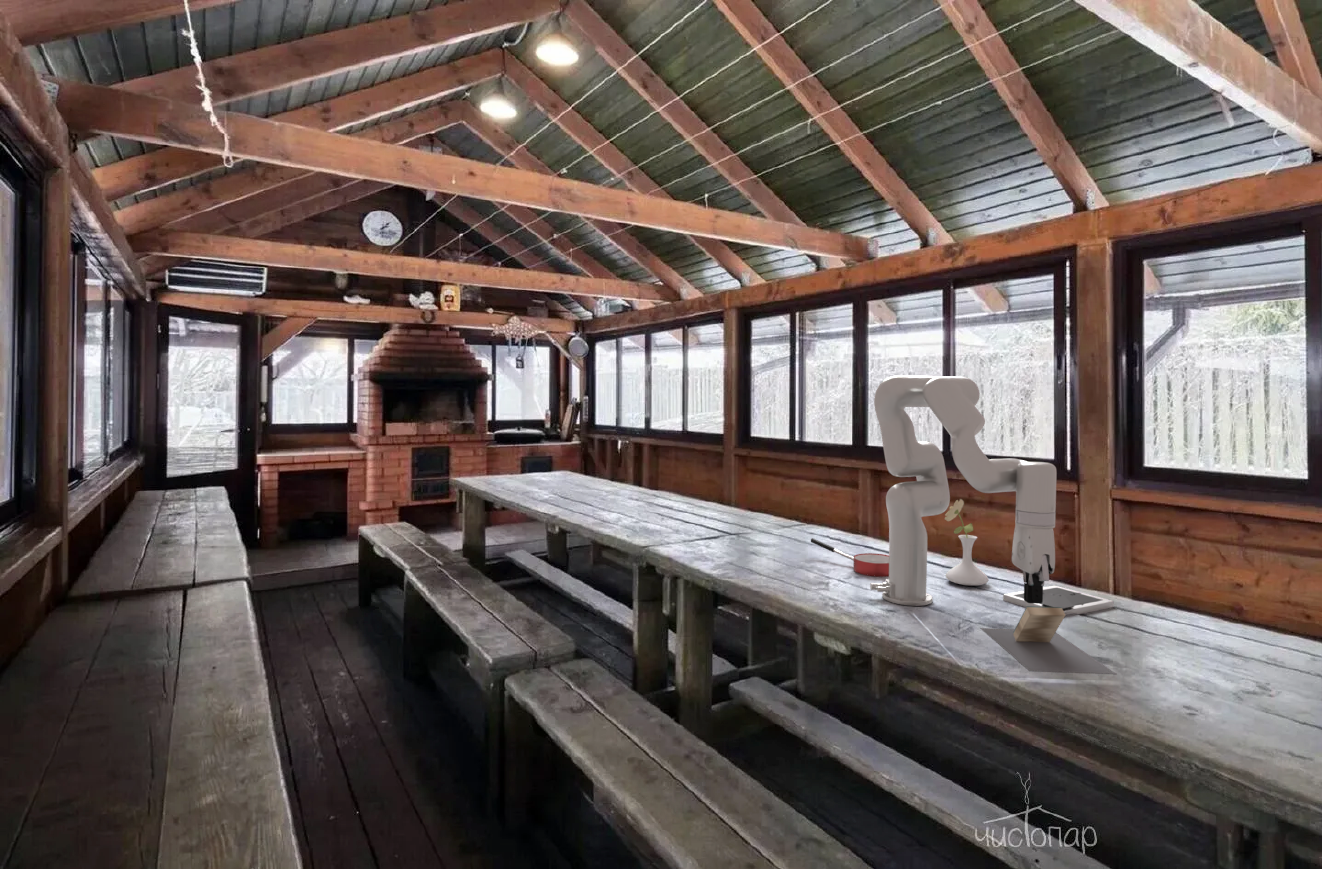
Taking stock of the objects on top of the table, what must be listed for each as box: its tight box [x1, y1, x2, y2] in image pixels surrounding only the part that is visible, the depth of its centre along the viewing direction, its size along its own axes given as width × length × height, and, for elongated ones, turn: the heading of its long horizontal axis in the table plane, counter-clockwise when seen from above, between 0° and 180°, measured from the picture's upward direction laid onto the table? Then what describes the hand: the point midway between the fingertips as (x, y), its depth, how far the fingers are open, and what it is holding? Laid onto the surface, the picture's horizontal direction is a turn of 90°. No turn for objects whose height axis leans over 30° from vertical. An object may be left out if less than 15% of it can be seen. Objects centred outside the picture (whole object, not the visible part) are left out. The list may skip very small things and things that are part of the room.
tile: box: [1013, 606, 1066, 642], centre depth 139 cm, size 7×2×10 cm
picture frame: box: [1002, 585, 1115, 616], centre depth 170 cm, size 16×3×21 cm
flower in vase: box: [944, 498, 989, 587], centre depth 188 cm, size 13×11×25 cm
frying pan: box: [810, 537, 889, 578], centre depth 209 cm, size 32×13×6 cm, turn 41°
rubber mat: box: [980, 627, 1117, 675], centre depth 137 cm, size 16×24×1 cm, turn 175°
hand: (1033, 601), depth 141 cm, fingers closed
